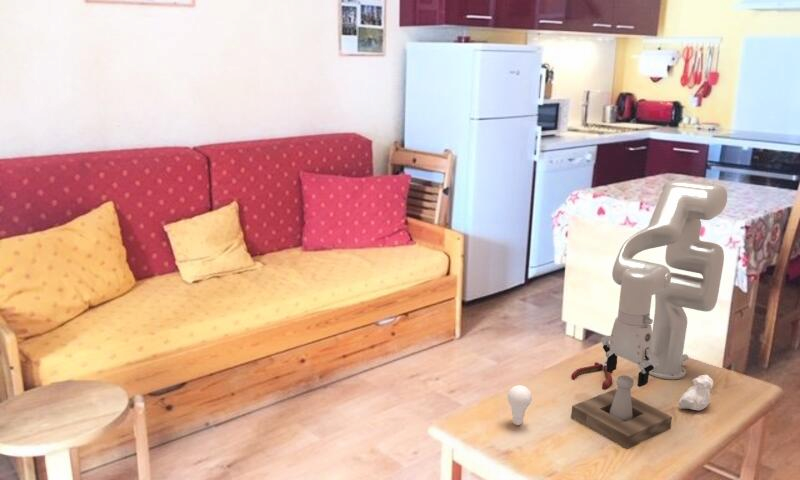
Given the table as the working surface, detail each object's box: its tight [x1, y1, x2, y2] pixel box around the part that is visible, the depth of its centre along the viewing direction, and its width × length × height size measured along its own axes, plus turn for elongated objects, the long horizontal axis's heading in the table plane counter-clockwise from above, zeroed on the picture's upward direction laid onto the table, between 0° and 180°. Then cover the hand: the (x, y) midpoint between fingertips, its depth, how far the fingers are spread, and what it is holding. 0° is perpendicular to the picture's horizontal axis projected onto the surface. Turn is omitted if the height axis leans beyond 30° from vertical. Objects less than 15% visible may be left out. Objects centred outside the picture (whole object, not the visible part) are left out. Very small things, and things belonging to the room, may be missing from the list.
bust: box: [678, 374, 714, 412], centre depth 188 cm, size 12×8×11 cm
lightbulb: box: [507, 384, 533, 426], centre depth 177 cm, size 6×6×11 cm
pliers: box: [571, 359, 614, 390], centre depth 209 cm, size 12×20×3 cm, turn 143°
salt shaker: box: [609, 375, 635, 422], centre depth 179 cm, size 6×6×13 cm
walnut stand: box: [570, 388, 673, 450], centre depth 180 cm, size 18×18×4 cm
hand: (626, 377), depth 178 cm, fingers open, 9 cm apart
